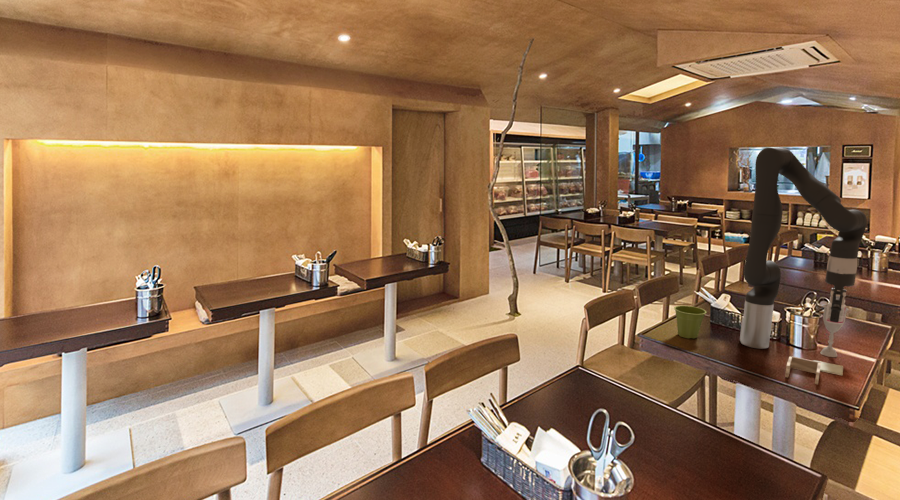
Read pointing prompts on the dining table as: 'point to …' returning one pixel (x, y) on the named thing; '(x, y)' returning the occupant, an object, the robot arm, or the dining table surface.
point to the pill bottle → (841, 316)
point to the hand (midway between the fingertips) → (834, 319)
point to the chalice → (831, 334)
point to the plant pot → (689, 320)
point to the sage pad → (831, 368)
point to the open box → (803, 366)
